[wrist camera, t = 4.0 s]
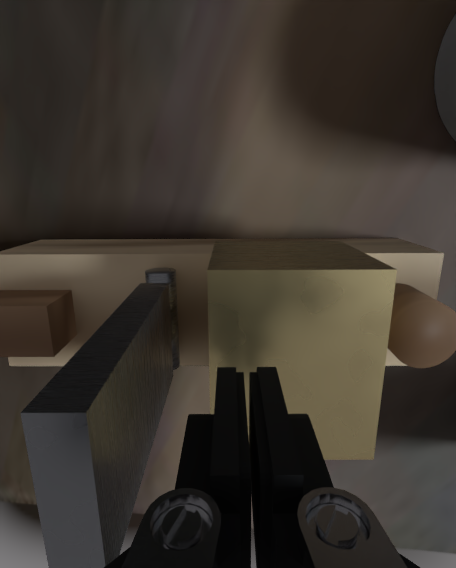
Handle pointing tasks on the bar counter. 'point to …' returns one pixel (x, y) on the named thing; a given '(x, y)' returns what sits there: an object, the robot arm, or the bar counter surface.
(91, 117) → the bar counter surface
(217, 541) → the robot arm
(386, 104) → the bar counter surface
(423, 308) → the wooden block plane
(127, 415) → the lever
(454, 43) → the coffee mug
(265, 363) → the olive cube-like block
